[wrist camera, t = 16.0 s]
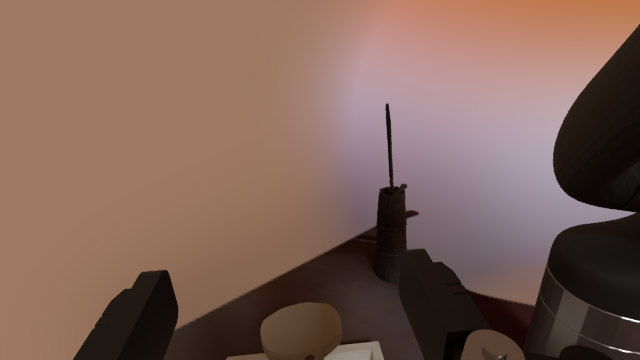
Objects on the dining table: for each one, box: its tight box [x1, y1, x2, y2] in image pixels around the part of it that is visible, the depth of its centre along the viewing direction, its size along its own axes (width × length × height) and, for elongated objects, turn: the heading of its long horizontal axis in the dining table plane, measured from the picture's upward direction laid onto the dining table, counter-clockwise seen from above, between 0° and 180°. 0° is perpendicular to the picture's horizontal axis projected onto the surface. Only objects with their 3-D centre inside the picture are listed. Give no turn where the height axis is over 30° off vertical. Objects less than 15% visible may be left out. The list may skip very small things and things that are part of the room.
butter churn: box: [375, 103, 407, 282], centre depth 52 cm, size 9×10×28 cm
